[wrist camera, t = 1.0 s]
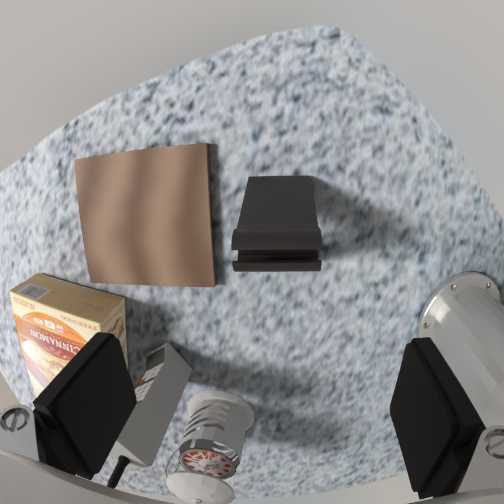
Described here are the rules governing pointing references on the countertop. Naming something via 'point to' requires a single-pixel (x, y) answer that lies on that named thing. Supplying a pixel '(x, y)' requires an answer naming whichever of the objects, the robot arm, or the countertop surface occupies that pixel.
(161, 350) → the vintage mobile phone
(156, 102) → the countertop surface
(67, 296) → the coffeecake box
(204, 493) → the french press
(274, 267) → the phone stand
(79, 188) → the walnut board
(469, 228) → the countertop surface
